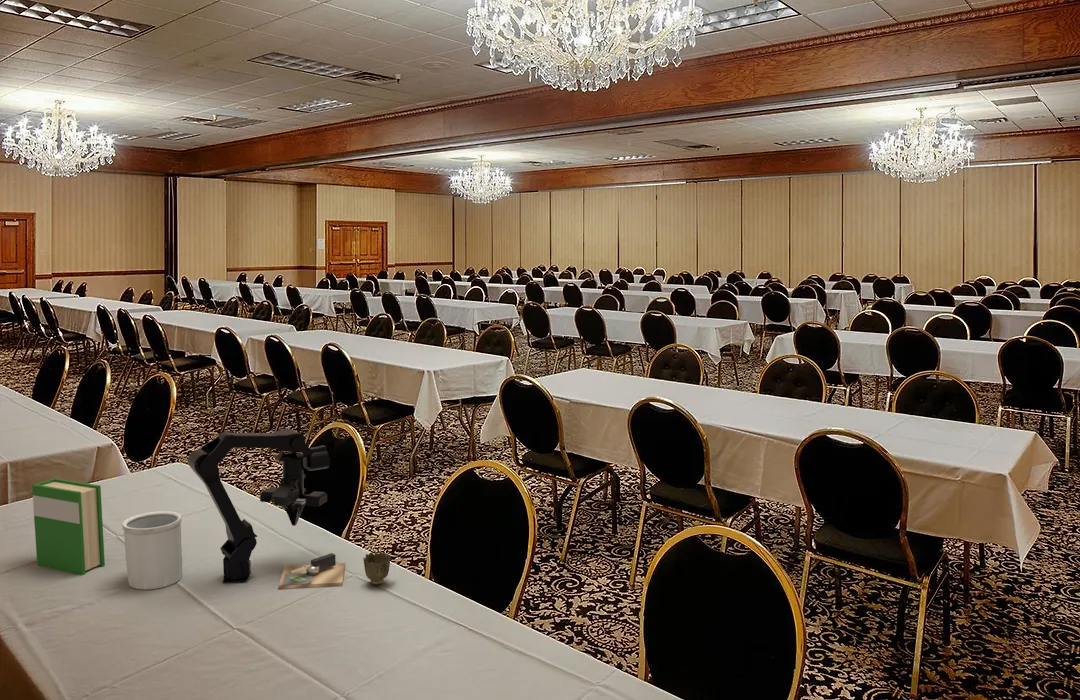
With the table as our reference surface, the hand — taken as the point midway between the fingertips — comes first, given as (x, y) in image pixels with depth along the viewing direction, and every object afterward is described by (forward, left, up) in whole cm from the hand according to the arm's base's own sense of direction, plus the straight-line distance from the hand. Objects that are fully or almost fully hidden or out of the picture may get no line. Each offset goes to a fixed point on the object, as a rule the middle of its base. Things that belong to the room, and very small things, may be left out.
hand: (294, 525), depth 241 cm
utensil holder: (-37, -6, -12) cm, 39 cm away
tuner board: (+6, -10, -12) cm, 17 cm away
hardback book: (-63, +7, -12) cm, 65 cm away
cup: (+24, -17, -12) cm, 32 cm away
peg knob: (+6, -10, -11) cm, 16 cm away
